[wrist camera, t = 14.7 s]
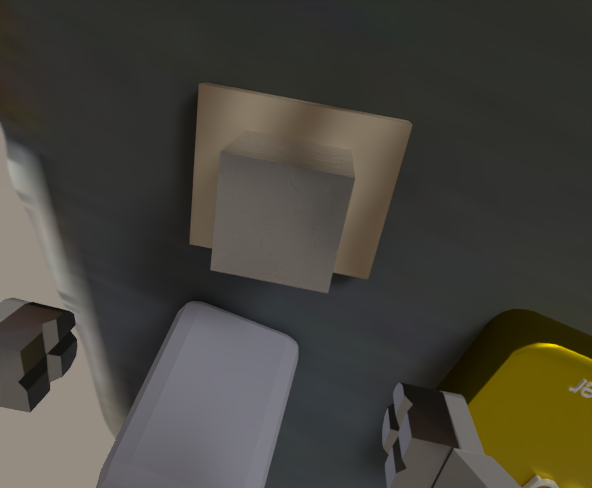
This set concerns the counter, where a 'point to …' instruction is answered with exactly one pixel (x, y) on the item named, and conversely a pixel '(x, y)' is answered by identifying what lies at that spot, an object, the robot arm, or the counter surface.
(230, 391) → the soap bottle
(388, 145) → the birch base
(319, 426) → the counter surface
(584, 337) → the element tile
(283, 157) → the upright gray block
